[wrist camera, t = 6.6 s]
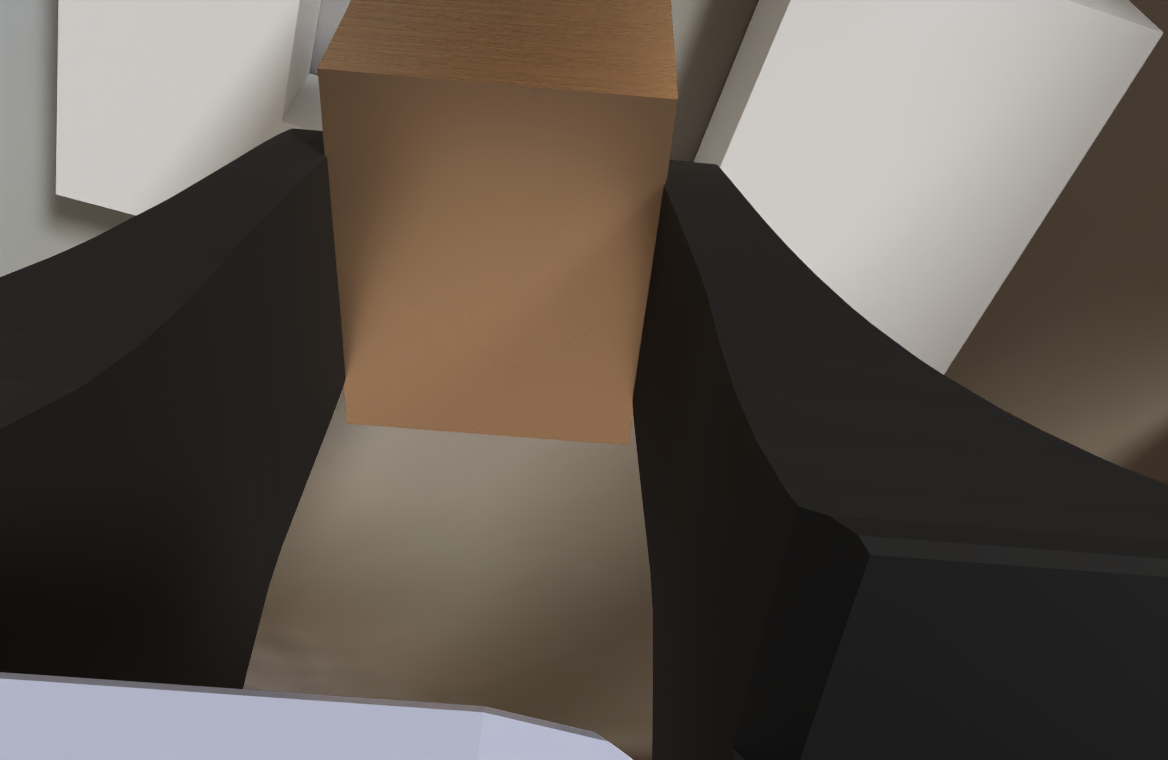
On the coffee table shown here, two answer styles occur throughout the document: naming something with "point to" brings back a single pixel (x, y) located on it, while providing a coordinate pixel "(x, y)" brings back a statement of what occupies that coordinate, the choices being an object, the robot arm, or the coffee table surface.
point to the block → (497, 208)
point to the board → (732, 140)
